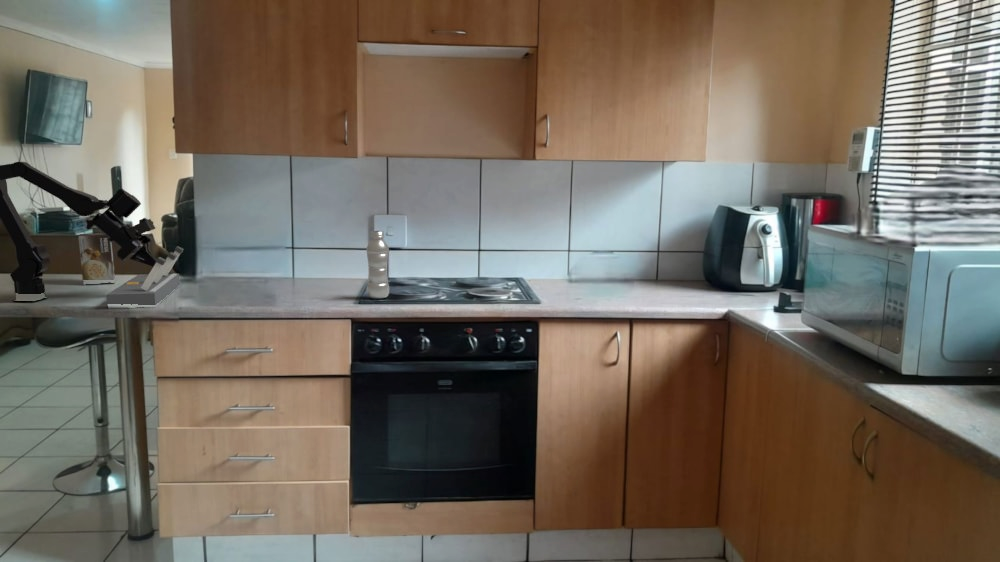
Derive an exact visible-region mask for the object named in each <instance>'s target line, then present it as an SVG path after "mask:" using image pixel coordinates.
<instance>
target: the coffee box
mask: <svg viewBox="0 0 1000 562" xmlns="http://www.w3.org/2000/svg"><path fill="white" fill-rule="evenodd" d="M109 239H110V238H109V237H108V236H106V235H105V234H104V233H103V232H101V233H80V234H78V245H79V246H78V249H79V256H80V266H81V277H82V281H83V280H114V279H115V280H116V275H115V265H114V255H113V242H111V241H109Z"/></svg>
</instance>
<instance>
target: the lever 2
mask: <svg viewBox="0 0 1000 562" xmlns="http://www.w3.org/2000/svg"><path fill="white" fill-rule="evenodd" d="M184 250H185V249H184V248H183V247H180V246H178V245H177V246H176V247H175V248H174V252H173V253H174V254H176V255H177V257H176V259H175V260H173V262H172V263H171V264H170V266H169V267H168V269H167V270H166V272H165V273H164V274H163V275H164V276H167V275H168V274H170V271H171V270H172V268H173V267H174V265H175V263H176V262H177V260H178V258H179V257H180V255H181V254H182V253H183V252H184Z"/></svg>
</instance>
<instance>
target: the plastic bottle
mask: <svg viewBox="0 0 1000 562" xmlns="http://www.w3.org/2000/svg"><path fill="white" fill-rule="evenodd" d="M370 238H371V239H370V241H369V243H368V244H367V246H366V249H365V250H366V257H367V267H368V276H367V277H368V278H367V283H366V295H367V297H368V298H371V299H375V300H380V299H384V298H387V297H389V295H390V285H389V281H388V261H389V256H390V255H389V252H390V247H389V245H388V243H387V242H386V241H385V239H384V238H385V235H384V230H371V231H370Z"/></svg>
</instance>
